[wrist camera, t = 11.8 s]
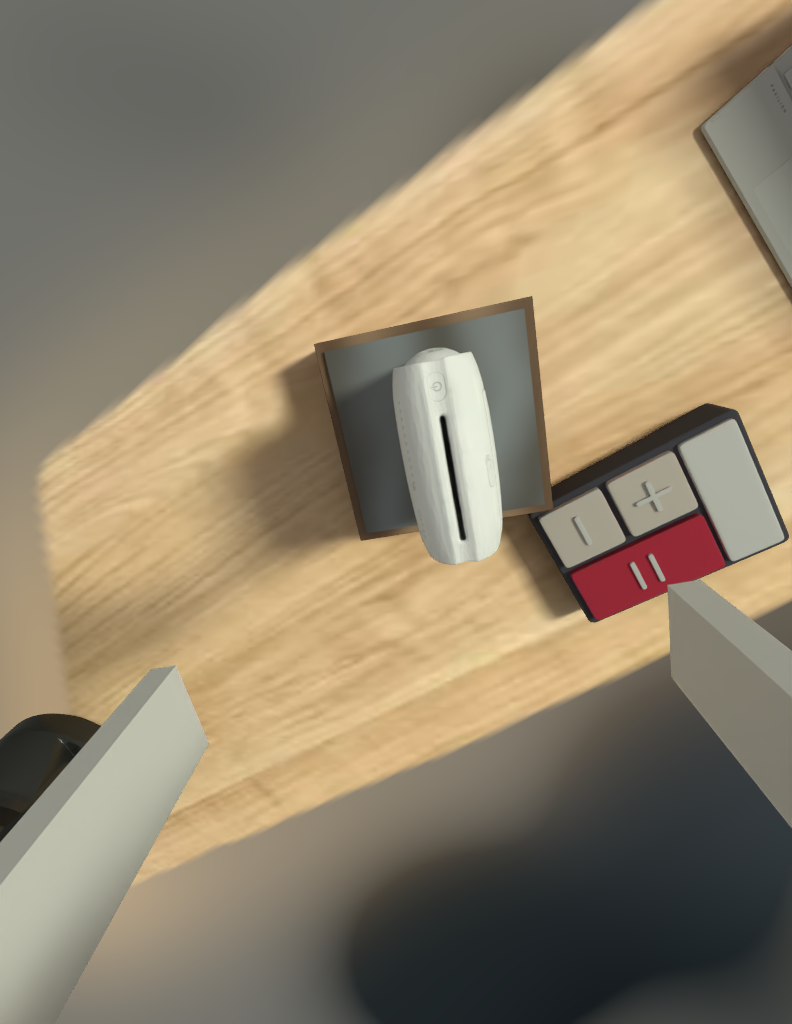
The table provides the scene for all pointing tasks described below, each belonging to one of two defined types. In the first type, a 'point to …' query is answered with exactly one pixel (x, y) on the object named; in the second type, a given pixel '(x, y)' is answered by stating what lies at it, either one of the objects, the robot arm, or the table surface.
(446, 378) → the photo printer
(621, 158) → the table surface
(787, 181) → the laptop
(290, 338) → the table surface
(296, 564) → the table surface
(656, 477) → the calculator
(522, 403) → the mirror
